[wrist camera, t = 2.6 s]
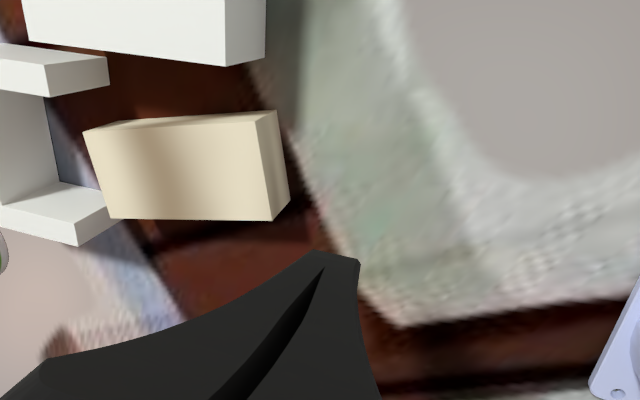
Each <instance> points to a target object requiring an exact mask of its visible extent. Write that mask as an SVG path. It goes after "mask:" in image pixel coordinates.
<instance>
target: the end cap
mask: <svg viewBox="0 0 640 400" xmlns="http://www.w3.org/2000/svg"><path fill="white" fill-rule="evenodd" d="M108 85H110V80H109V73H108V65H107V57H101V56H94V55H87V54H79V53H72V52H65V51H57V50H50V49H43V48H35V47H28V46H21V45H13V44H6V43H0V227H4V228H7V229H11V230H15V231H19V232H23V233H27V234H31V235H34V236H39V237H42V238H46V239H50V240H54V241H57V242H61V243H65V244H69V245H73V246H77V247H79V246H81V245H82V244H84V243H86V242H87V241H89V240H90V239H92V238H94V237H95V236H97V235H99V234H100V233H102V232H103V231H105V230H107V229H108V228H110V227H112V226H113V225H115V224H116V223H118V222H120V221H121V220H123V219H116V218H110V215H109V212H108V209H107V206H106V203H105V200H104V197H103V194H102V191H100V190H95V189H91V188H86V187H82V186H77V185H73V184H68V183H64V182H60V181H59V176H58V171H57V166H56V161H55V156H54V151H53V146H52V141H51V136H50V131H49V126H48V121H47V116H46V110H45V105H44V100H43V96H44V97H54V96H59V95H64V94H69V93H74V92H79V91H84V90H89V89H94V88H99V87H103V86H108Z"/></svg>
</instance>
